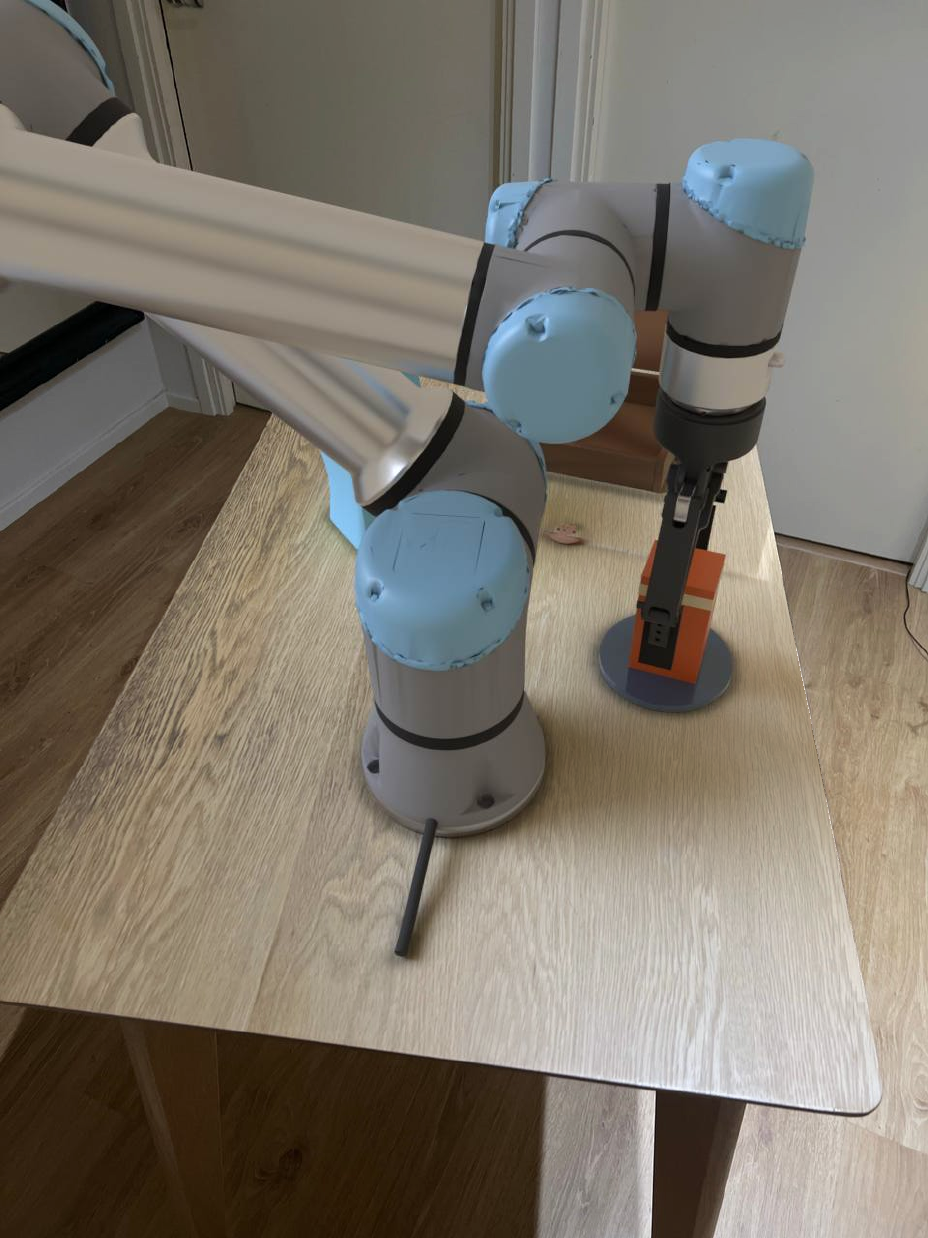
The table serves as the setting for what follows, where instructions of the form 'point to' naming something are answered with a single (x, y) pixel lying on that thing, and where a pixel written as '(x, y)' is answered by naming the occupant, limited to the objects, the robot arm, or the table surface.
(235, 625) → the table surface
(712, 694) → the plate
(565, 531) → the cookie
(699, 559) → the box
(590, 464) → the chest
